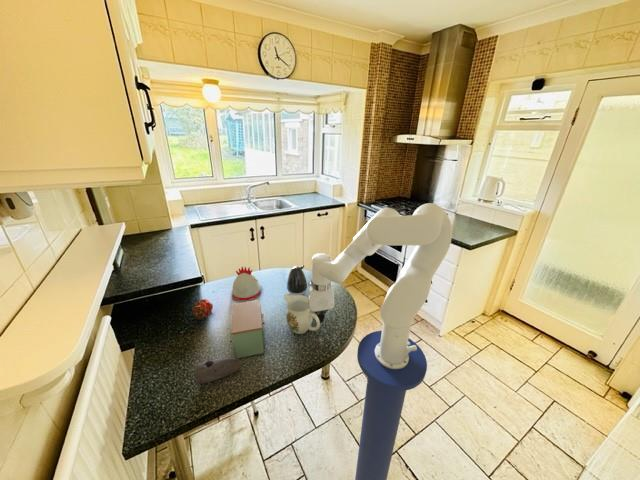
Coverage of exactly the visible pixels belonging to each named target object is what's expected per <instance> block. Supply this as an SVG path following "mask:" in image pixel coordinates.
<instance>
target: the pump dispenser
mask: <svg viewBox="0 0 640 480" xmlns="http://www.w3.org/2000/svg"><path fill="white" fill-rule="evenodd" d="M304 268H305V264H302V265H301V266H293V267H292V268H291V269H290V271H289V274H288V277H287V281H286V289H287V291H288V294H290V295H303V296H304V294H305V292H306V291H307V288H308V282H307V278H306V275H305V273H304V271H303V269H304Z"/></svg>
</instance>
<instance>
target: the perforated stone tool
mask: <svg viewBox="0 0 640 480" xmlns="http://www.w3.org/2000/svg"><path fill="white" fill-rule="evenodd" d="M242 366H243V362H242V360H240V358H236V357H223V358H216V359H209V360H206V361H203V362H200V363H197V365H196V368H195V370H194V372H193V374H192V375H193V377H194V379H193V380H194V381H195V383H196V384H197V385H202V384H208V383H213V382H215V381H218V380H220V379H223V378H225V377H228V376H230V375H232V374H234V373H236V372H237V371H238V370H240V369H241V368H242Z"/></svg>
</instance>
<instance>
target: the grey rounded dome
mask: <svg viewBox="0 0 640 480" xmlns="http://www.w3.org/2000/svg"><path fill="white" fill-rule="evenodd" d="M252 272H253V268H252V269H251V268H250V267H248V268H247V267H246V266H244V267H243V266H241V268H238V270H235V273H236V275H237V276H236V277H235V279H234V280H233V284H232V290H231V293H232V297H233V298H234V299H235V300H236V301H241V302H248V301H252V300H253V299H255V298H257V297H258V296H259V295H260V294H261V291H262V290H261V284H260V281H259V280H258V278H257V277H256V276H255V274H253V273H252Z"/></svg>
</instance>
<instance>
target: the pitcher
mask: <svg viewBox="0 0 640 480" xmlns="http://www.w3.org/2000/svg"><path fill="white" fill-rule="evenodd" d="M308 297H309V296H307V295H304V294H303V295H291V294H290V293H286V294H284V295H283V299H284V300H285V302H286V303H285V304H286V308H287V309H286V314H285V315H286V317H285V318H286V322H287V325H288V327H289V329H290V330H291V331H292V332H293V333H294V334H297V335H303V334H306V332H308V331H312V332H316V331H318V330H319V329H320V326H321V323H320V321H319V318H318V317H317V314H316V313H314V312H312V311H311V310H310V308H311V307H310V308H309V309H308V307H309V304H308ZM313 319H314V320H315V323H316V326H312V324H313Z"/></svg>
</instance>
